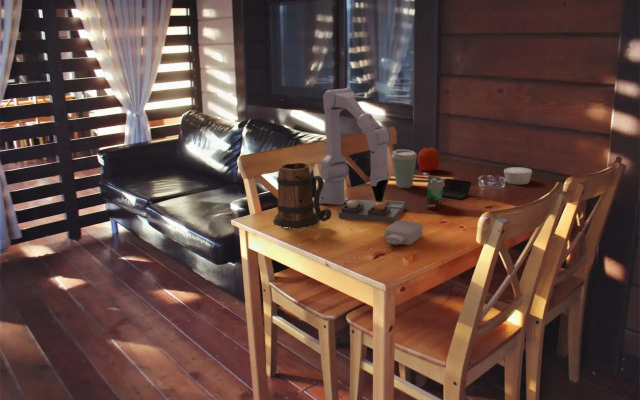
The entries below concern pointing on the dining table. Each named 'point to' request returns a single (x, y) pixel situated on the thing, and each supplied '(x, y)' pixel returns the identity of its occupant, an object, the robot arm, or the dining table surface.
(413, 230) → the grey plastic bottle
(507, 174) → the ramekin
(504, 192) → the dining table surface
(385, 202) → the tall mustard sponge block
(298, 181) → the tankard
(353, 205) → the cream button
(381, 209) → the terracotta button
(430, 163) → the apple
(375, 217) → the control panel
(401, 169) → the disposable coffee cup
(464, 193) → the handheld gaming console
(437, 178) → the food container
